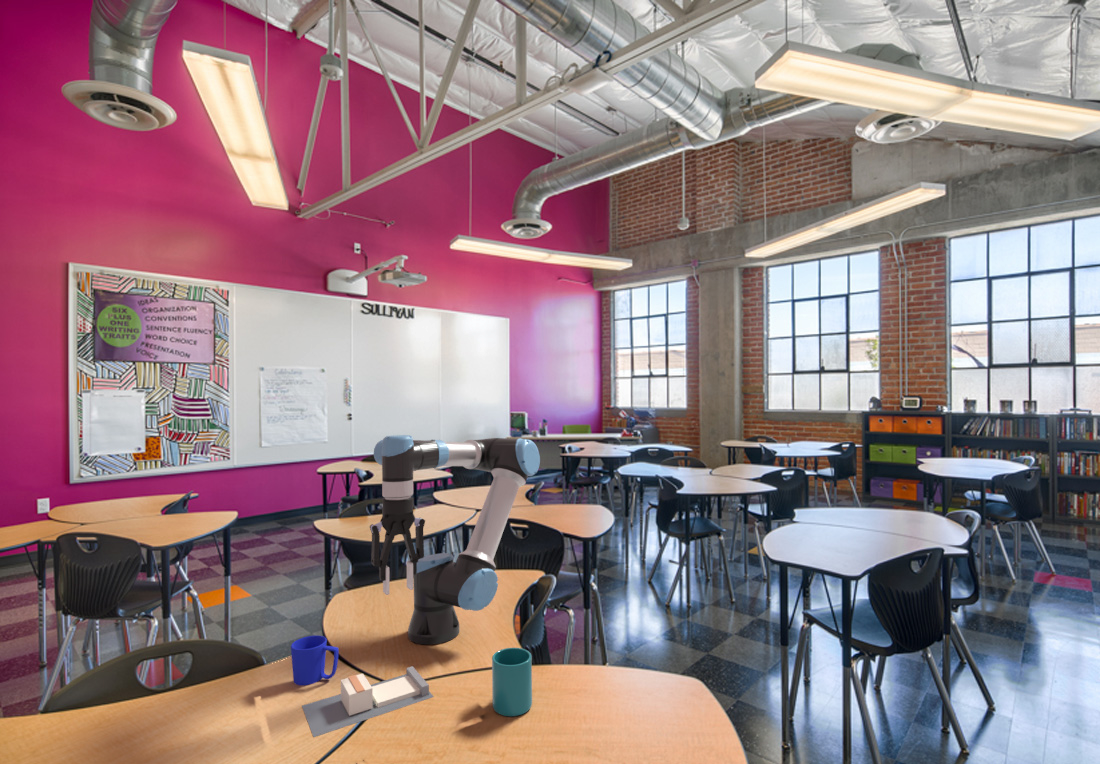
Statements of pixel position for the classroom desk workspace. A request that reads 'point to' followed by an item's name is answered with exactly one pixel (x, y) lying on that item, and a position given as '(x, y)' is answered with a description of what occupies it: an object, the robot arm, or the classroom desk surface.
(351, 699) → the white box
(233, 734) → the classroom desk surface
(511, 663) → the cup
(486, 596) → the robot arm
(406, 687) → the clipboard
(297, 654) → the mug
